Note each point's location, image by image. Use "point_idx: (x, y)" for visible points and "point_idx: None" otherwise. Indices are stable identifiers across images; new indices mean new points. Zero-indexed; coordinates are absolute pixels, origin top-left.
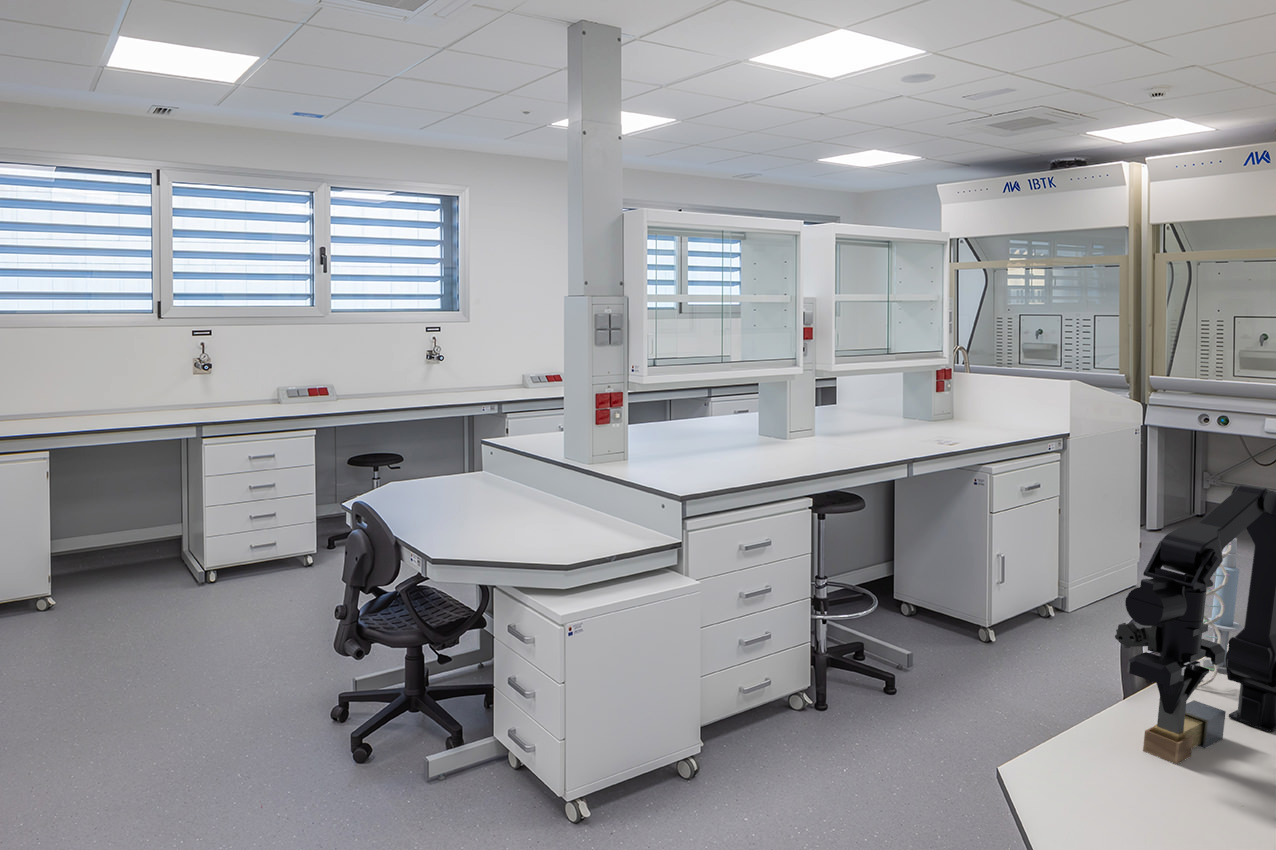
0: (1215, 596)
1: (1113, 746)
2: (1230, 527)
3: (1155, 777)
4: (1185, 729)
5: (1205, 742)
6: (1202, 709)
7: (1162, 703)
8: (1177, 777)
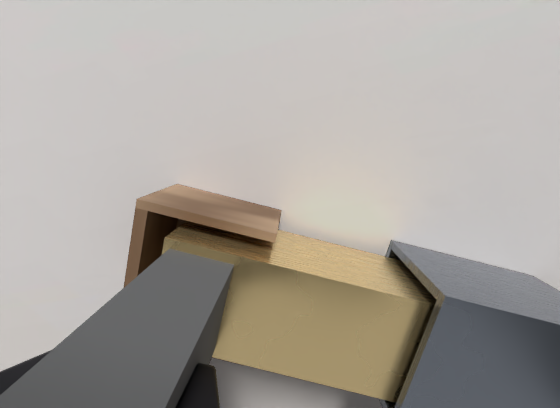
0: None
1: (129, 90)
2: None
3: (15, 255)
4: (235, 354)
5: None
6: (536, 400)
7: (17, 367)
8: (72, 303)
